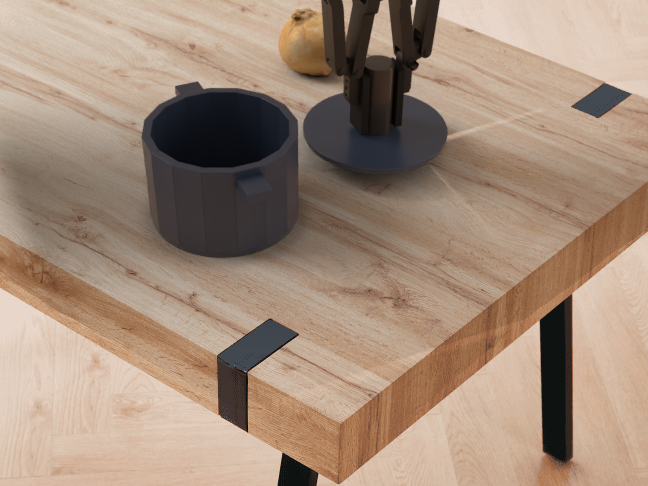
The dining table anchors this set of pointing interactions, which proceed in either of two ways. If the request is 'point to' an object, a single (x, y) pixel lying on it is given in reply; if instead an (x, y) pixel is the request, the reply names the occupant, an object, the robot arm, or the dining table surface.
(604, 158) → the dining table surface
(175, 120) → the pot
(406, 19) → the robot arm
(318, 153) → the lid
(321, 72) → the onion
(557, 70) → the dining table surface
